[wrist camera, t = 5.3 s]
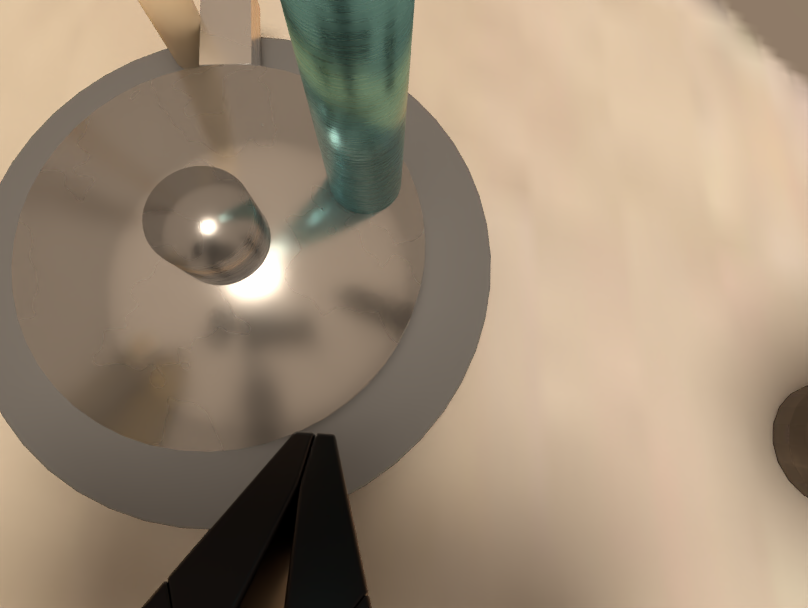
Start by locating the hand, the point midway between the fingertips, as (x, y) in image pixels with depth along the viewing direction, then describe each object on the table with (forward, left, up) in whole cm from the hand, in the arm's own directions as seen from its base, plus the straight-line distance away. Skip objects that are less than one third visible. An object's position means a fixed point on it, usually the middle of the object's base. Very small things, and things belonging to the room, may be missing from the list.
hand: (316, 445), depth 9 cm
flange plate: (+5, +6, -5) cm, 10 cm away
